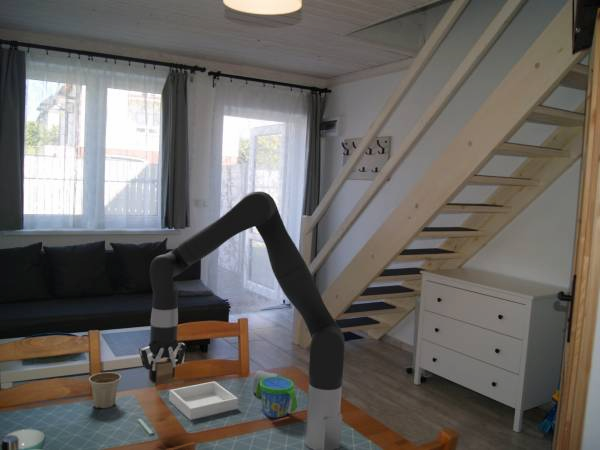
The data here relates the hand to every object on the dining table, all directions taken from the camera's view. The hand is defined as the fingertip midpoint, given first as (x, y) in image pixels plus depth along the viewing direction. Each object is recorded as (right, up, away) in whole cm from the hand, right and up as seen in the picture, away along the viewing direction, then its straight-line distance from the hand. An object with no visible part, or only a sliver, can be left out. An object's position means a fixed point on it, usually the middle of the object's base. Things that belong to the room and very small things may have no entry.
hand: (161, 380), depth 150 cm
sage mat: (-1, -13, +1) cm, 13 cm away
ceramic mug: (+28, -13, +29) cm, 42 cm away
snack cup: (+32, -14, +12) cm, 37 cm away
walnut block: (0, 0, 0) cm, 0 cm away
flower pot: (-21, -11, +12) cm, 27 cm away
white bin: (+9, -13, +15) cm, 21 cm away
